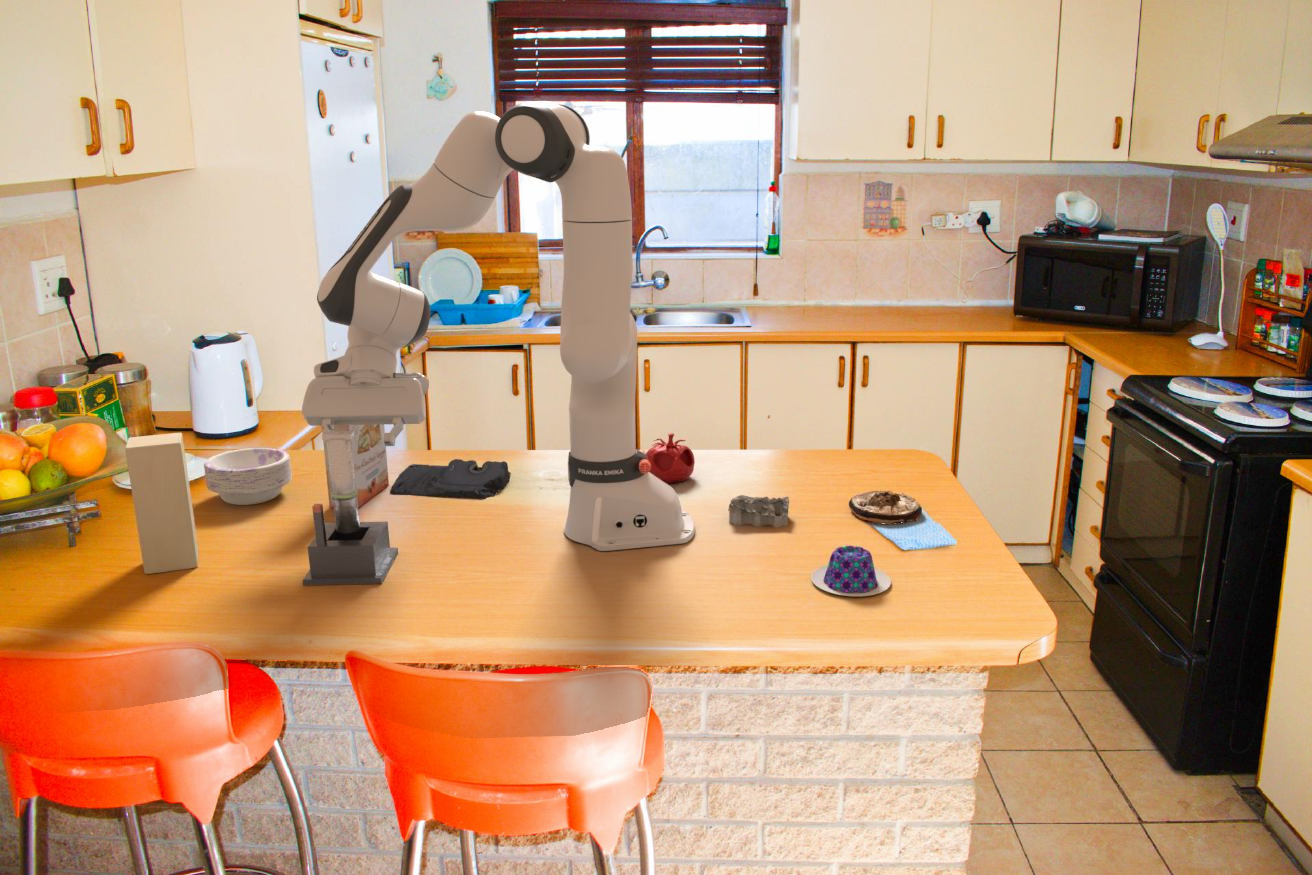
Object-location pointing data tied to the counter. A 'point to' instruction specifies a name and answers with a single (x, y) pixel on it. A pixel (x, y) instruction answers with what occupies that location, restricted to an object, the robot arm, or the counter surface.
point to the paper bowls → (248, 474)
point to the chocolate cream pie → (884, 507)
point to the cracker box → (364, 460)
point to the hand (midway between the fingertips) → (360, 445)
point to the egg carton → (758, 511)
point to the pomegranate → (671, 461)
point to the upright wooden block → (162, 502)
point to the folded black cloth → (453, 480)
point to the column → (342, 480)
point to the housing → (348, 553)
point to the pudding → (851, 573)
